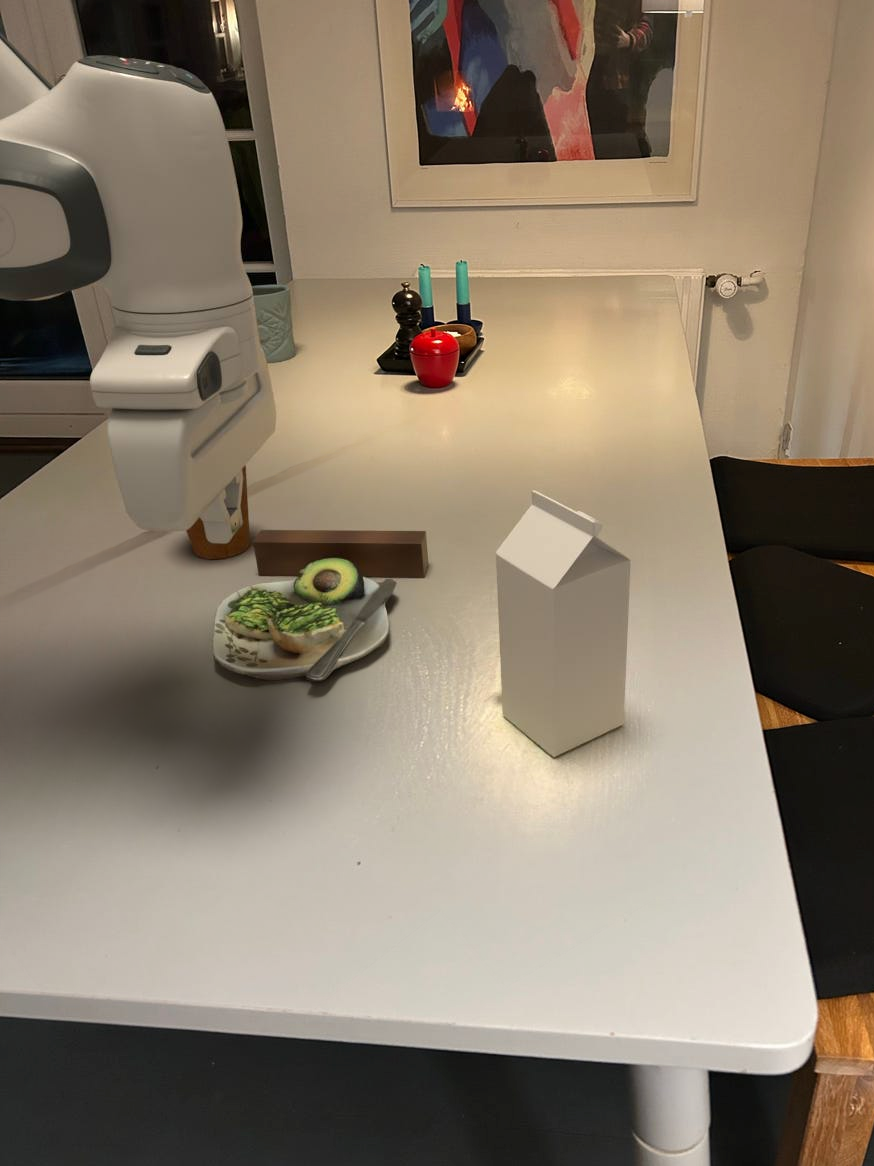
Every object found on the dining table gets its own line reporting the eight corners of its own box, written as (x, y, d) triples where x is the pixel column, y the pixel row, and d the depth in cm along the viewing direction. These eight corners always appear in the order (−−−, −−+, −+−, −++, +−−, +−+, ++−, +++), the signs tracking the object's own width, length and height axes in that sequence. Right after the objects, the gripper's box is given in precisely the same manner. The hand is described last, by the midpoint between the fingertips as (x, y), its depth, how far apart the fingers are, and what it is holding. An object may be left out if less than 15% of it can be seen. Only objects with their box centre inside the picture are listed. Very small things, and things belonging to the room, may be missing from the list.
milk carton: (554, 759, 73) (552, 536, 63) (501, 715, 78) (492, 502, 68) (624, 726, 76) (633, 508, 66) (569, 686, 81) (570, 478, 71)
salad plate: (412, 685, 82) (407, 640, 80) (203, 710, 81) (192, 665, 78) (395, 582, 99) (391, 542, 96) (222, 601, 97) (213, 561, 94)
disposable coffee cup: (193, 530, 112) (171, 432, 106) (272, 528, 112) (255, 430, 105) (168, 567, 104) (142, 464, 98) (253, 565, 104) (233, 461, 97)
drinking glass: (262, 367, 171) (251, 298, 165) (234, 357, 178) (222, 291, 171) (309, 355, 177) (300, 287, 171) (280, 346, 183) (270, 281, 177)
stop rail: (258, 575, 101) (252, 541, 99) (267, 562, 104) (261, 529, 102) (424, 577, 99) (421, 543, 97) (428, 564, 102) (425, 530, 100)
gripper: (202, 308, 72) (231, 480, 79) (74, 389, 54) (126, 599, 62) (283, 308, 71) (305, 482, 78) (179, 390, 54) (220, 603, 61)
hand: (225, 535), depth 70 cm, fingers closed
